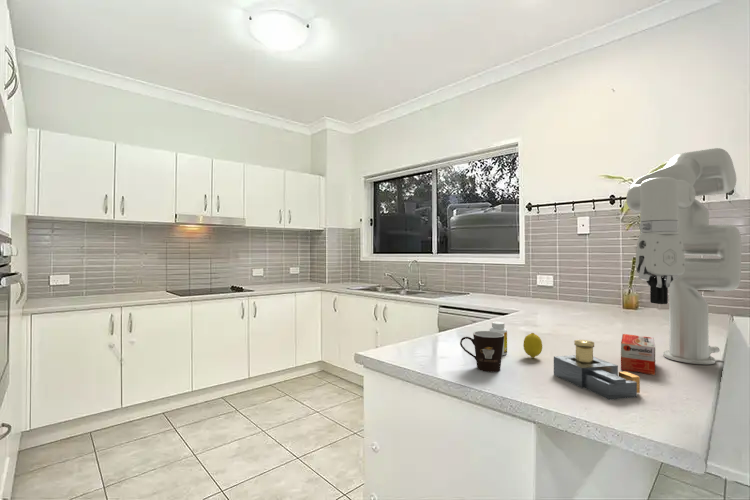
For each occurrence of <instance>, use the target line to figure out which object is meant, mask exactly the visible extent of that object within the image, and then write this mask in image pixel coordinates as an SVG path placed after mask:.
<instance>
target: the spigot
mask: <svg viewBox="0 0 750 500" xmlns="http://www.w3.org/2000/svg"><path fill="white" fill-rule="evenodd" d="M573 343H574V346H575V355H576V362H578V363H581V364H593V357H594V348H595V342H594V341H592V340H587V339H575V340H574V341H573Z"/></svg>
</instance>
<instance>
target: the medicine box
mask: <svg viewBox="0 0 750 500" xmlns="http://www.w3.org/2000/svg"><path fill="white" fill-rule="evenodd" d="M620 370H621V371H623V372H624V371H626V372H629V373H631V372H632V373H635V372H636V373H640V374H646V375H651V376H655V375H656V344H655V339H654V337H653V336H646V335H645V336H644V335H636V334H626V333H622V337H621V341H620Z"/></svg>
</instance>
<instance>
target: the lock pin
mask: <svg viewBox="0 0 750 500" xmlns="http://www.w3.org/2000/svg"><path fill="white" fill-rule="evenodd" d="M618 376H619V377H621V378H624V379H626V381H627V380H632V381H635V382H637V394H640V391H641V390H640V389H641V383H640V382H641V377H640V376H639V375H636V374H633V373H631V372H629V371H624V370H623V371H618ZM602 380H603V379H602ZM604 381H605V380H604ZM606 382H608V381H606Z"/></svg>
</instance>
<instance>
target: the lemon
mask: <svg viewBox="0 0 750 500" xmlns="http://www.w3.org/2000/svg"><path fill="white" fill-rule="evenodd" d="M522 346H523V350H524V352H525V354H526V355H528V356H530V357H531V358H532V359H534V358H536V357H538V356H540V355H541V353H542V351H543V342H542V338H541V337H540V336H539V335H537V334H535V333H534V332H531V333H528V334H527V335H526V336H525V337H524V339H523V345H522Z"/></svg>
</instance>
